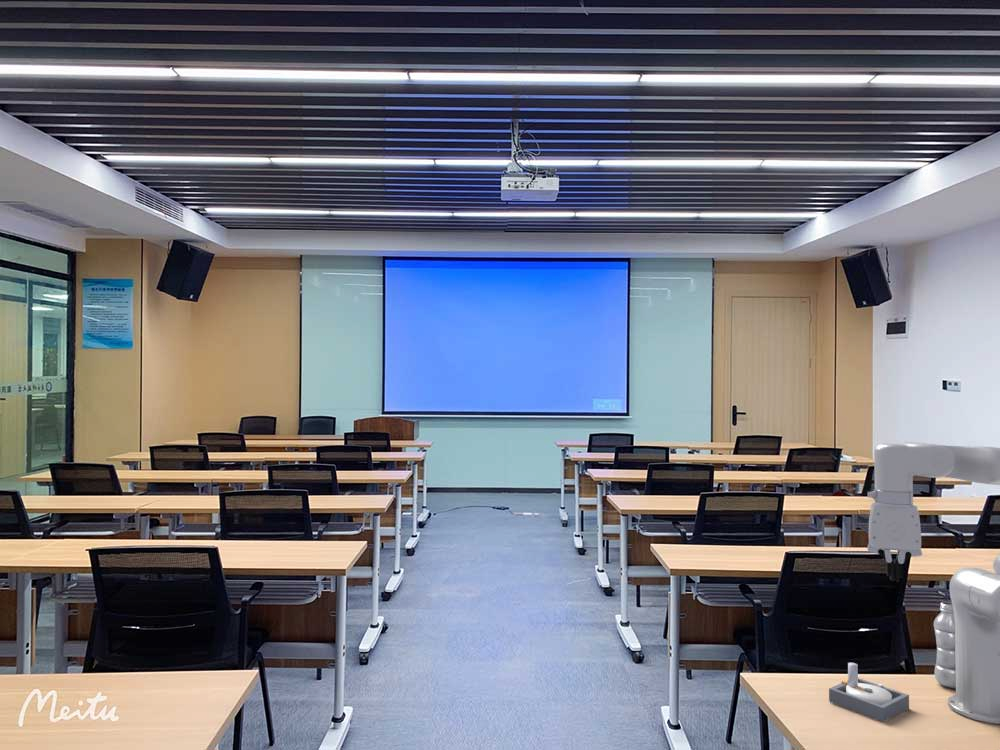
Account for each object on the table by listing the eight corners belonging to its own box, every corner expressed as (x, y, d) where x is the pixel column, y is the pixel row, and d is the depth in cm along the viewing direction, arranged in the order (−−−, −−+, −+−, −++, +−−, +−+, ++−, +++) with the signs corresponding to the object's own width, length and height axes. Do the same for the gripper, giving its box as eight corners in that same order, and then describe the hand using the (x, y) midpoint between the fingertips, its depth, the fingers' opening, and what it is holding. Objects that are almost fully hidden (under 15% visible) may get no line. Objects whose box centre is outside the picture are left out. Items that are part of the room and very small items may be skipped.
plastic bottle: (972, 693, 162) (971, 608, 162) (941, 690, 163) (939, 606, 164) (959, 682, 168) (958, 601, 169) (929, 679, 169) (928, 599, 170)
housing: (855, 689, 162) (855, 675, 163) (909, 708, 153) (908, 692, 153) (829, 701, 155) (829, 686, 156) (883, 722, 146) (883, 705, 146)
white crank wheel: (899, 701, 153) (898, 671, 153) (880, 712, 148) (880, 680, 148) (857, 687, 161) (857, 658, 161) (838, 697, 155) (838, 666, 155)
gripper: (857, 498, 153) (858, 579, 152) (935, 502, 147) (936, 588, 146) (855, 494, 160) (856, 572, 159) (929, 498, 154) (930, 580, 153)
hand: (894, 579), depth 152 cm, fingers closed
